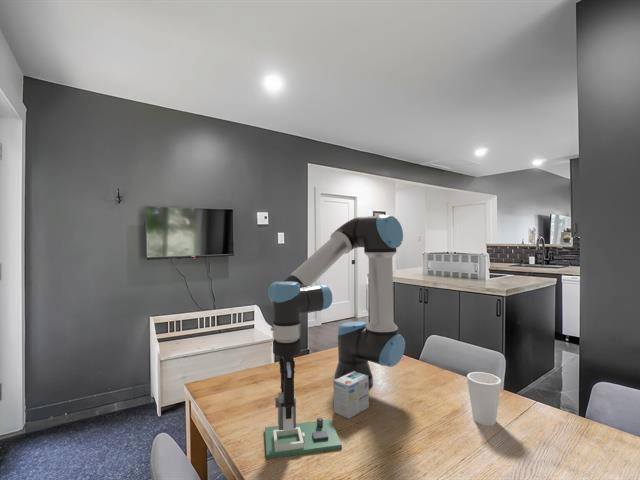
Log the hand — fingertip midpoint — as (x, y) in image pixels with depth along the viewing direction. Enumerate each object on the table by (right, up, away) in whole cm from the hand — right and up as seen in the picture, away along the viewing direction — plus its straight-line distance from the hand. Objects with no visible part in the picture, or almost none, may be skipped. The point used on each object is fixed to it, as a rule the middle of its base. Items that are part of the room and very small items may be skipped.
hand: (287, 423), depth 92 cm
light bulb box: (+19, -6, +19) cm, 28 cm away
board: (+4, -6, +3) cm, 8 cm away
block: (0, 0, 0) cm, 0 cm away
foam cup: (+60, -5, +12) cm, 61 cm away
